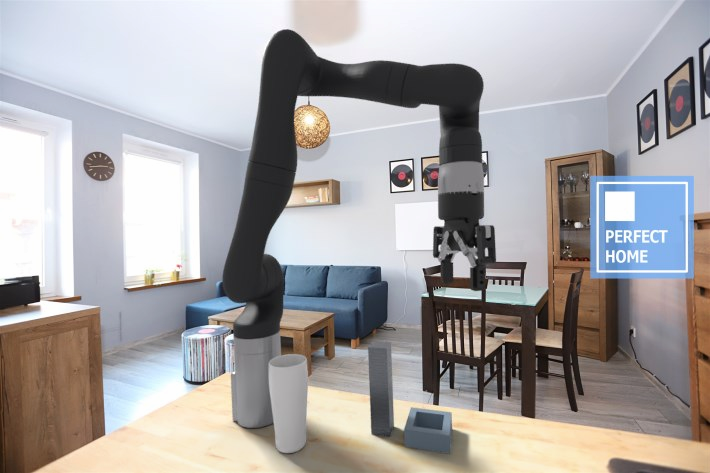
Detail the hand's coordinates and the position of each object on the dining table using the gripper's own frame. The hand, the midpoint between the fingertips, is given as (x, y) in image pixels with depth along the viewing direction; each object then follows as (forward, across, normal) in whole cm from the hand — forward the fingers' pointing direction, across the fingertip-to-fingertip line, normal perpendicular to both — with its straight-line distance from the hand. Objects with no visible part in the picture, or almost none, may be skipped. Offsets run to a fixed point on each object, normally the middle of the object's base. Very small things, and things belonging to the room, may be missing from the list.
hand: (461, 286), depth 58 cm
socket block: (+27, -3, -5) cm, 28 cm away
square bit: (+27, -8, -12) cm, 31 cm away
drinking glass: (+28, -10, -28) cm, 41 cm away
